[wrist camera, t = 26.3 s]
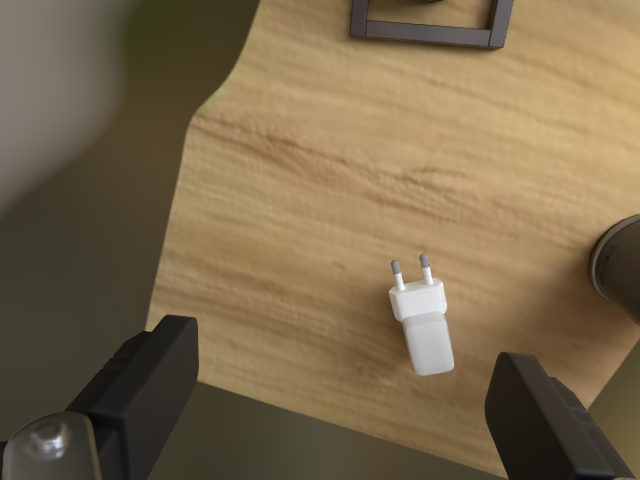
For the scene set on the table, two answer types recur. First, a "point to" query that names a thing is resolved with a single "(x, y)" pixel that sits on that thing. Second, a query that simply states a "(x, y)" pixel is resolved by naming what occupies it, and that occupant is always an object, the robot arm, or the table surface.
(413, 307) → the power adapter
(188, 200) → the table surface
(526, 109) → the table surface
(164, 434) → the robot arm
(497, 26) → the dark brown rectangular frame
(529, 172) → the table surface
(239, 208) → the table surface
